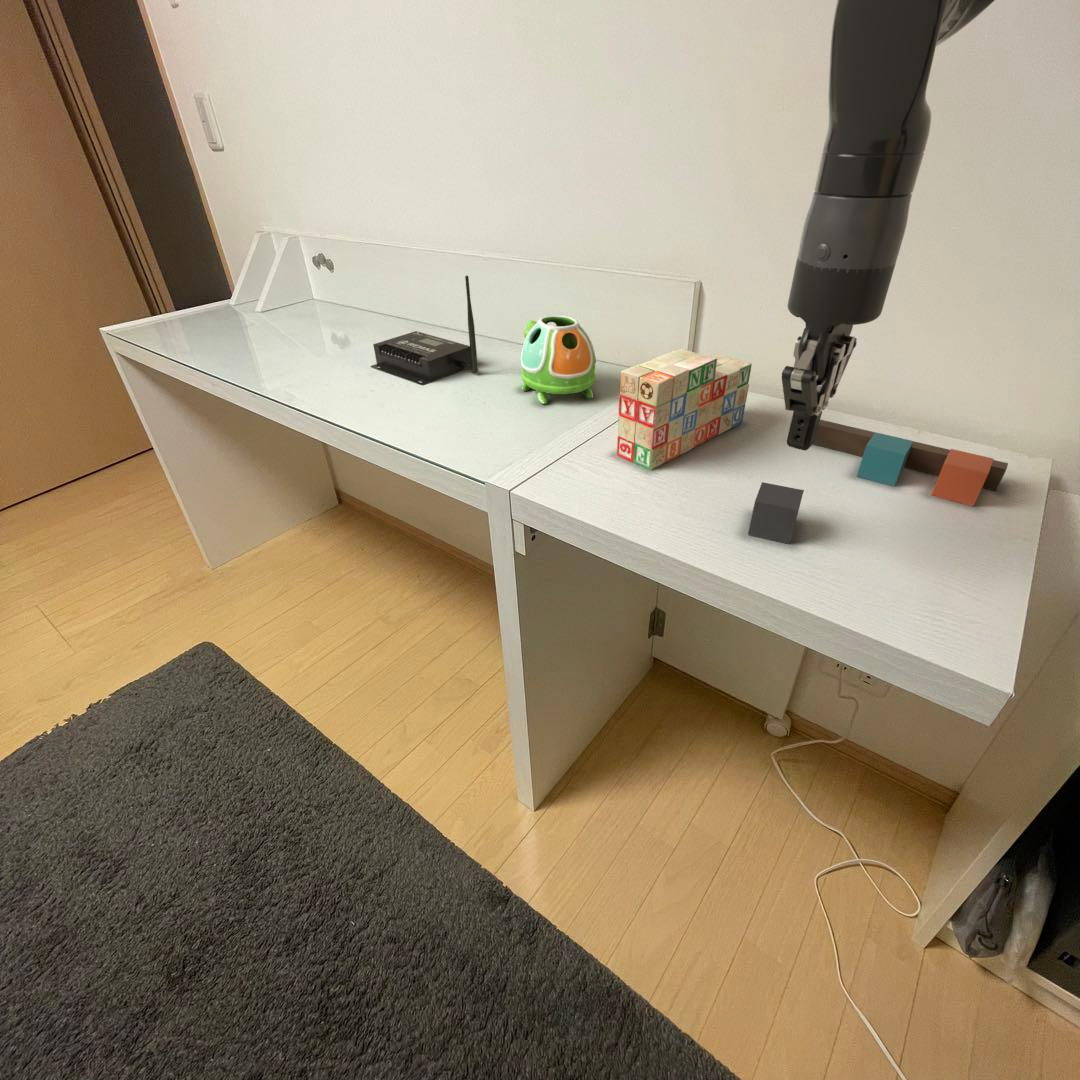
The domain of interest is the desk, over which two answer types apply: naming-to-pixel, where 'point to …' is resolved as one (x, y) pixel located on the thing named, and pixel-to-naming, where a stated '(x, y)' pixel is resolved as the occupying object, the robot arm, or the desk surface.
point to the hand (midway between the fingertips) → (799, 445)
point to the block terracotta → (962, 477)
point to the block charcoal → (775, 512)
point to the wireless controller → (427, 354)
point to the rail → (918, 459)
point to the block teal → (884, 458)
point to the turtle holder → (557, 358)
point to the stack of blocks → (678, 404)
